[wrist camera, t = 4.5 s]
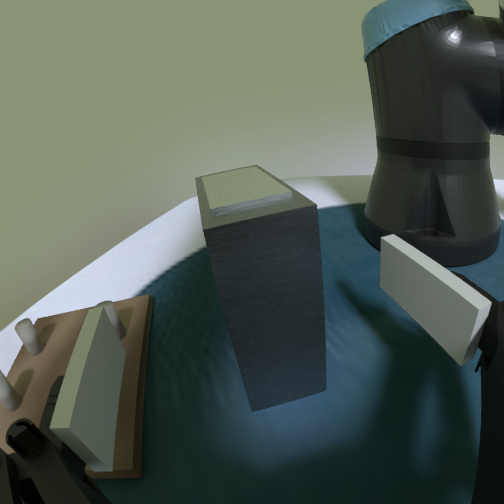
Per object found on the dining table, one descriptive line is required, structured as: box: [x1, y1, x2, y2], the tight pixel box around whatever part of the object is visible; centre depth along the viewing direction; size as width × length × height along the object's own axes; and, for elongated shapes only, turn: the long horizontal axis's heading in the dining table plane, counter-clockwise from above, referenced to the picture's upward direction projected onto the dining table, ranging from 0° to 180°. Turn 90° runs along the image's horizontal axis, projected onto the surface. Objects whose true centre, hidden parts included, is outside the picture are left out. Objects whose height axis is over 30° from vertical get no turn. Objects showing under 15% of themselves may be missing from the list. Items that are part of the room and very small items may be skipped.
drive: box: [195, 165, 326, 412], centre depth 17 cm, size 4×10×10 cm, turn 12°
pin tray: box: [0, 294, 153, 479], centre depth 17 cm, size 12×16×4 cm
